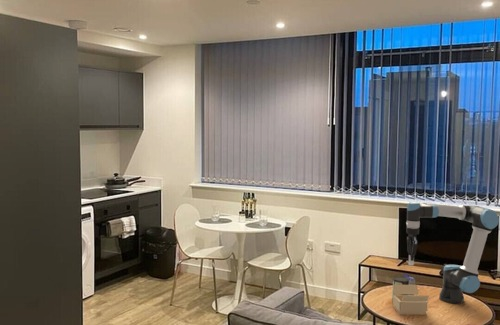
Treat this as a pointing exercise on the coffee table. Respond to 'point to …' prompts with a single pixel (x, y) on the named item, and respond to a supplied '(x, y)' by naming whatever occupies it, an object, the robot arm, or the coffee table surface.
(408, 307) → the carton
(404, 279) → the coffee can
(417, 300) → the flap near camera
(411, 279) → the ink cartridge box
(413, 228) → the robot arm
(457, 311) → the coffee table surface
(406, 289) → the flap far
